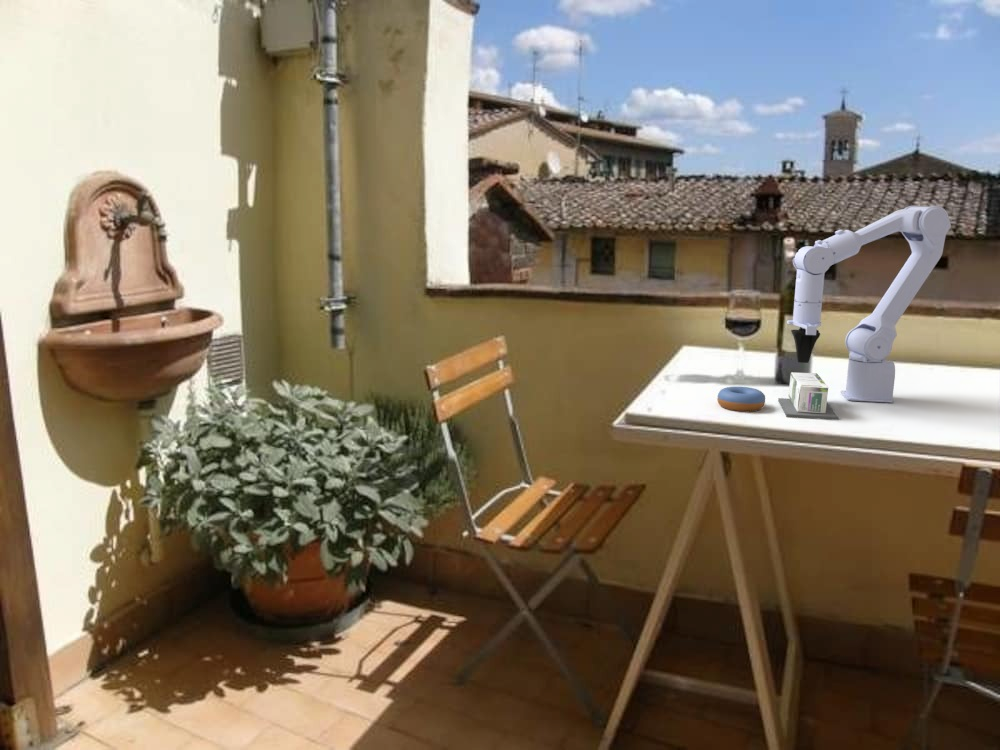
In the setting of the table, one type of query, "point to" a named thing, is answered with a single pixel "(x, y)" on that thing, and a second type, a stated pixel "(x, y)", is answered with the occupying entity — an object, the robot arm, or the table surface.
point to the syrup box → (808, 392)
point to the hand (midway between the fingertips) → (802, 362)
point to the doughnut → (741, 399)
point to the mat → (792, 412)
